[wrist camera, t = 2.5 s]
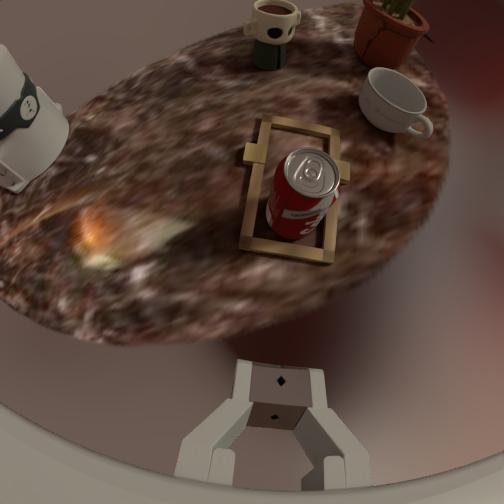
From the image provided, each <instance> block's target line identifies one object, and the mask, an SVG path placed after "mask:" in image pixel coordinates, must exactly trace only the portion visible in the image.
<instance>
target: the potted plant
mask: <svg viewBox="0 0 504 504" xmlns="http://www.w3.org/2000/svg"><path fill="white" fill-rule="evenodd" d="M412 2H413V0H363V4H364V5H365V6H364V9H363V12H362V14H361V17H360V20H359V23H358V26H357V29H356V32H355V39H354V46H355V50H356V53H357V55H358V56H359V58H360V59H361V60H362V61H363V62H364V63H365V64H366V65H368V66H370V67H371V68H376V67H382V68H388V69H391V70H393V69H396V68H398V67H400V66H401V65H402V64H403V63H404V62H405V61H406V59H407V58H408V57H409V55H410V53H411V52H412V50H413V49H414V47H415V45H416V43H417V42H418V40H419V38H420V36H421V35H424V34H426V32H427V31H428V29H429V25H428V23H427V22H426V20H425V19H424V18H423V17H422V16H421V15H420V14H418V13H417V12H416V11H415V10H413V9H412V8H410V6H411V4H412Z"/></svg>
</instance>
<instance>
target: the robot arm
mask: <svg viewBox="0 0 504 504" xmlns="http://www.w3.org/2000/svg"><path fill="white" fill-rule="evenodd" d="M0 1H1V0H0ZM68 133H69V124H68V121H67V119H66V118H65V117H64V116H63V114H62V107H61V105H60V104H59V103H53V102H52V101H51V100H50V98H49V97H48V96H47V95H46V94H45V93H44V92H43V90H42V89H41V88H40V87H35V85H34V84H33V81H32V80H31V78H29V77H28V75H27V74H26V73H23V72H22V71H21V70H20V68H19V67H18V65H17V64H16V62H15V61H14V59H13V57H12V56H11V54H10V53H9V51H8V49H7V48H6V47H5V46H4V45H2V44H0V186H1V187H3V188H6V189H8V190H10V191H12V192H14V193H16V194H18V193H20V192H21V191H22V190H23V189H24V188H25V187H26V186H27V184H28V183H29V182H30V181H31V180H33V179H34V178H36V177H37V176H39V175H40V174H42V173H43V172H44V171H45V170H46V169H47V168H48V167H49V166H50V165H51V164H52V163H53V162H54V161H55V160H56V158H57V157H58V156H59V154H60V152H61V151H62V149H63V147H64V145H65V143H66V140H67V137H68ZM246 426H251V427H262V428H274V429H283V430H293V431H292V432H293V434H294V435H295V437H296V439H297V440H298V442H299V444H300V445H301V447H302V448H303V450H304V452H305V453H306V455H307V457H308V458H309V460H310V462H311V463H312V465H313V466H314V468H313V469H312V470H311V471H310V472H309V473H308V474H306V475H305V476H304V477H303V478H302V479H301V491H280V490H262V489H250V488H240V487H232V480H233V471H234V462H235V453H234V452H233V451H232V450H230V449H227V448H228V447H229V446H230V444H231V443H232V442H233V441H234V440H235V438H237V436H238V435H239V434H240V433H241V432H242V431H243V429H244V428H245V427H246ZM0 504H504V451H502V452H499V453H497V454H494V455H492V456H489V457H487V458H484V459H481V460H479V461H476V462H473V463H471V464H468V465H464V466H462V467H458V468H455V469H452V470H448V471H445V472H441V473H438V474H434V475H430V476H426V477H421V478H417V479H412V480H407V481H403V482H398V483H391V484H385V485H378V486H373V485H372V476H371V467H370V459H369V453H368V452H367V451H366V450H365V448H364V447H363V446H362V445H361V444H360V443H359V441H358V440H357V439H356V438H355V437H354V436H353V434H352V433H351V432H350V431H349V429H348V428H347V427H346V426H345V425H344V423H343V422H342V421H341V420H340V419H339V417H338V416H337V415H336V414H335V412H334V411H333V410H332V409H331V408H327V399H326V389H325V380H324V372H323V370H321V369H310V368H303V367H292V366H282V365H280V366H277V365H271V364H264V363H258V362H252V361H246V360H240V359H238V360H237V364H236V369H235V374H234V379H233V385H232V391H231V397H230V399H229V398H227V399H226V400H225V401H224V402H223V403H222V404H221V405H220V406H219V407H218V408H217V409H216V410H215V411H214V412H212V414H210V415H209V416H208V417H207V418H206V419H205V420H204V421H203V422H202V423H201V424H200V425H199V426H197V427H196V428H195V429H194V430H193V431H192V432H191V433H190V434H189V435H187V436H186V437H185V438H184V439H183V440H182V445H181V448H180V453H179V457H178V461H177V466H176V470H175V474H174V476H171V475H167V474H163V473H159V472H155V471H152V470H148V469H145V468H141V467H138V466H134V465H131V464H128V463H125V462H122V461H119V460H117V459H114V458H111V457H108V456H106V455H103V454H100V453H98V452H95V451H93V450H90V449H87V448H85V447H83V446H81V445H78V444H76V443H74V442H72V441H69V440H67V439H65V438H63V437H61V436H59V435H57V434H54V433H53V432H51V431H49V430H47V429H45V428H43V427H41V426H39V425H37V424H36V423H34V422H32V421H30V420H29V419H27V418H25V417H23V416H22V415H20V414H18V413H17V412H15V411H13V410H11V409H10V408H8V407H7V406H5V405H4V404H2V403H1V402H0Z"/></svg>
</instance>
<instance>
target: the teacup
mask: <svg viewBox="0 0 504 504" xmlns="http://www.w3.org/2000/svg"><path fill="white" fill-rule="evenodd" d="M359 106H360V108H361V111H362V112H363V114H364V115H365V117H366V118H367V119H368V121H369V122H370V123H371V124H373V125H374V126H375V127H377V128H379V129H381V130H383V131H387V132H391V133H401V132H403V133H404V134H410V135H412V136H414V137H416V138H419V139H426V138H428V137H430V136H431V134H432V132H433V125H432V123H431V121H430V120H429V119H428V118H427V117H425V116H422V115H421V114H422V113H423V112H424V111H425V110H426V107H427V103H426V100H425V97H424V95H423V93H422V92H421V91H420V89H419V88H418V87H417V86H416V85H415V84H414V83H413V82H412V81H411V80H410V79H408V78H407V77H405V76H404V75H402V74H400V73H398V72H396V71H394V70H391V69H388V68H382V67H376V68H373V69H371V70H370V71H369V72H368V76H367V78H366V80H365V82H364V84H363V86H362V89H361V91H360V94H359ZM419 121H420V122H423V123H424V125H425V126H426V132H425V133H421V132H418V131H416V130H414V129H412V128H411V126H412V125H413V124H414V123H417V122H419Z"/></svg>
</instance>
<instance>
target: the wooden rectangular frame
mask: <svg viewBox="0 0 504 504" xmlns="http://www.w3.org/2000/svg"><path fill="white" fill-rule="evenodd" d="M271 127H274V128H280V129H285V130H291V131H296V132H301V133H306V134H310V135H315V136H319V137H324V138H328V139H329V148H328V155H329V156H331V157H332V158H333V160H334V161H335V162H336V164H337V166H338V168H339V171H340V183H343V184H347V183H348V182H349V181H350V163H348V162H344V161H340V130H338V129H334V128H330V127H326V126H322V125H317V124H313V123H308V122H303V121H298V120H293V119H288V118H283V117H277V116H272V115H266V114H263V117H262V122H261V127H260V132H259V137H258V142H257V144H254V143H248V142H246V147H245V152H244V156H243V164H244V165H250V166H253V169H252V174H251V179H250V185H249V190H248V195H247V201H246V206H245V212H244V217H243V223H242V228H241V234H240V239H239V245H238V249H242V250H248V251H254V252H260V253H266V254H272V255H278V256H284V257H290V258H296V259H302V260H308V261H314V262H319V263H325V264H333V263H334V254H335V242H336V229H337V214H338V198H337V199H336V201H335V202H334V203H333V205H332V206H331V207H330V209H329V210H328V211H327V213H326V214H325V216H324V229H323V240H322V249H319V248H313V247H308V246H302V245H296V244H290V243H285V242H279V241H273V240H267V239H261V238H255V237H252V236H253V230H254V224H255V218H256V213H257V207H258V201H259V195H260V189H261V183H262V177H263V171H264V165H265V159H266V153H267V147H268V141H269V135H270V130H271Z"/></svg>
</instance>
